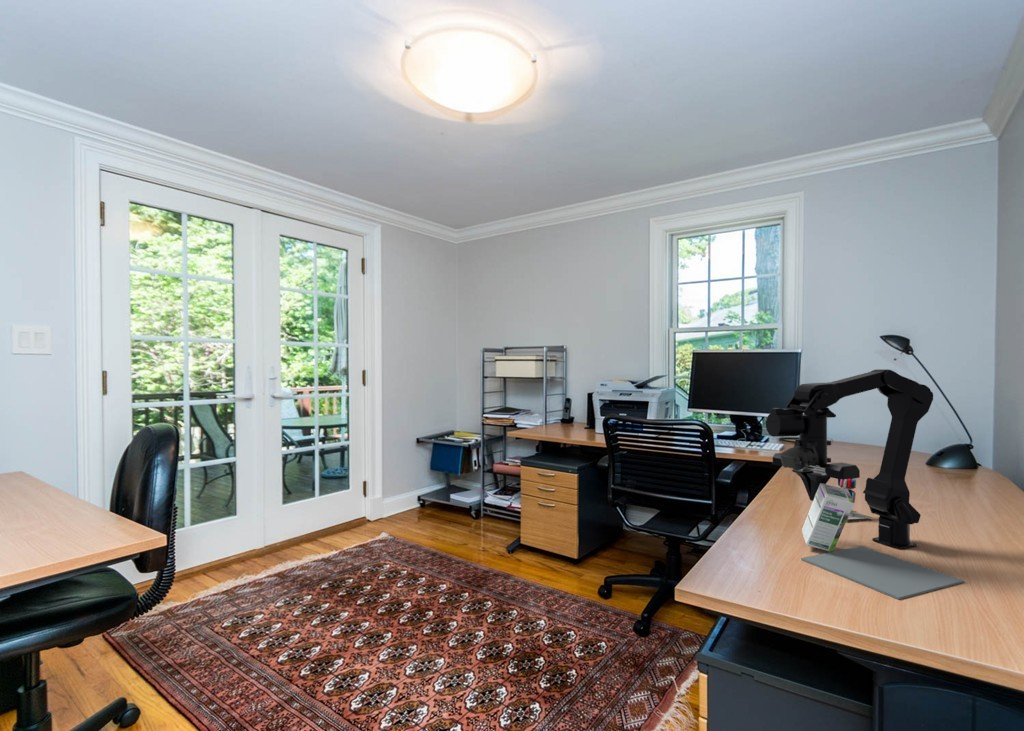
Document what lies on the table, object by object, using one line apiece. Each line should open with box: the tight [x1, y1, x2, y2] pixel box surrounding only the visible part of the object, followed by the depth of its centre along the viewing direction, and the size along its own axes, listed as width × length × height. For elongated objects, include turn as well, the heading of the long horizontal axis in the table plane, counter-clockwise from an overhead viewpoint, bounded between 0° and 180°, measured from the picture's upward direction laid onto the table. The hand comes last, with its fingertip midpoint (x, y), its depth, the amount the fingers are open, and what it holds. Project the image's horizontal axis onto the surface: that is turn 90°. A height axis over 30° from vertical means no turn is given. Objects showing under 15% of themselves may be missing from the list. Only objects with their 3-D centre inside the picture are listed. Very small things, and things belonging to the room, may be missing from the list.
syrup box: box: [801, 483, 855, 553], centre depth 113 cm, size 6×6×14 cm
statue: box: [837, 478, 873, 523], centre depth 140 cm, size 11×9×15 cm
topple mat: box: [800, 545, 965, 600], centre depth 103 cm, size 20×20×1 cm
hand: (813, 500), depth 117 cm, fingers closed
